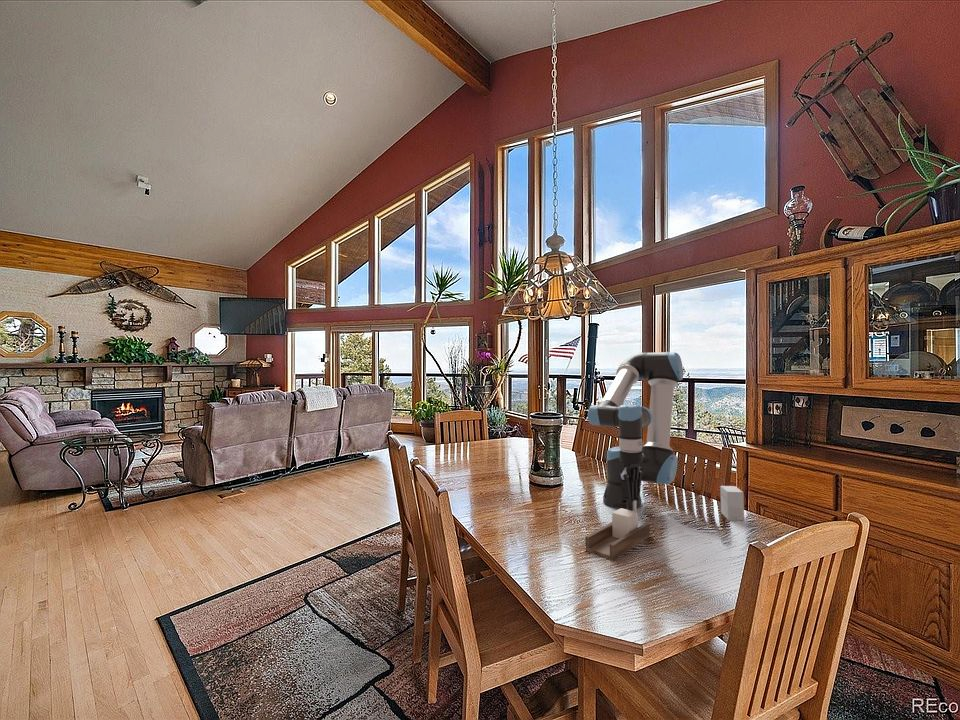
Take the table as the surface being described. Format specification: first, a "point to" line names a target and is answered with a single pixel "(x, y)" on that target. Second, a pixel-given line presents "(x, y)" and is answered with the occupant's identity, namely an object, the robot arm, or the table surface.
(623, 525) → the block
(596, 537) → the chute
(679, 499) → the table surface
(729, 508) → the small box
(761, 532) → the table surface
